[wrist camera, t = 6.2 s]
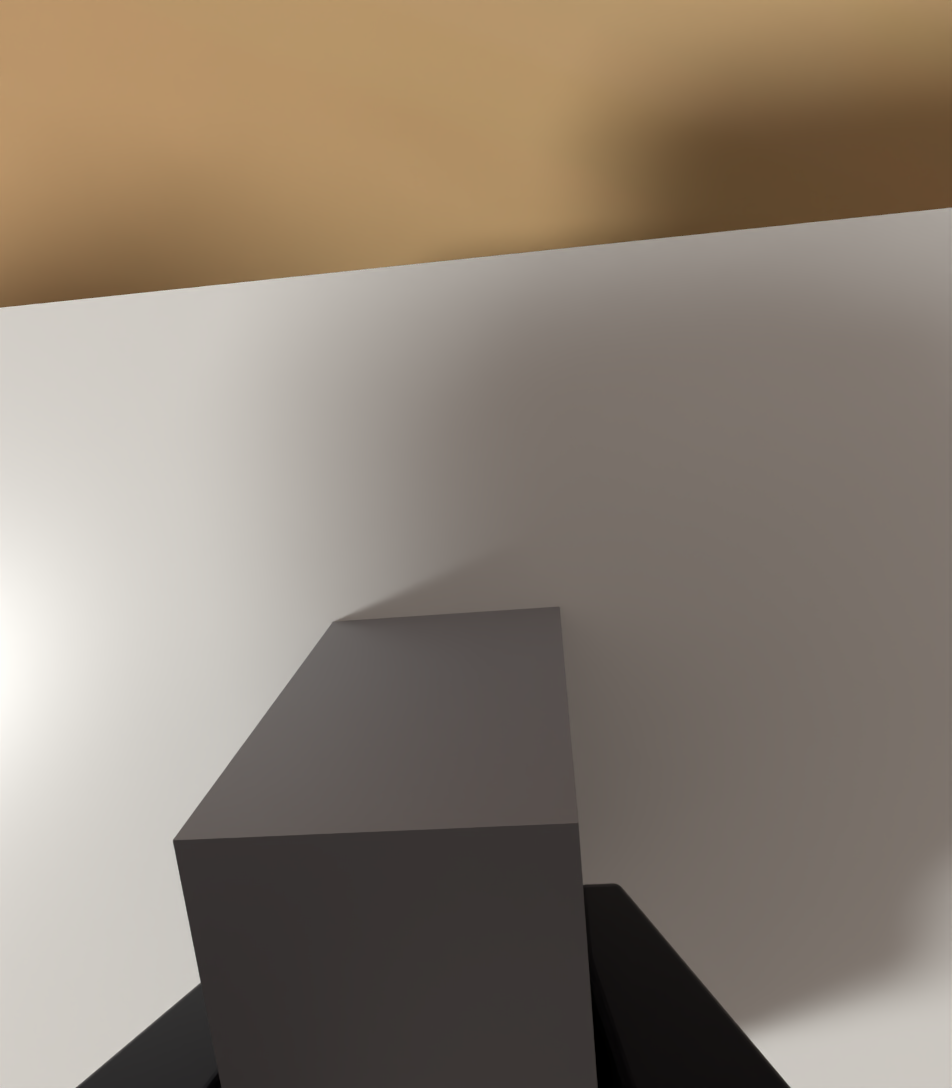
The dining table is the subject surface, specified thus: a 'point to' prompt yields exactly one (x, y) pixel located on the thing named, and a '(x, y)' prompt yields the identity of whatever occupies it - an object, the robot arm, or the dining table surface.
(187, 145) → the dining table surface
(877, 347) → the lid
